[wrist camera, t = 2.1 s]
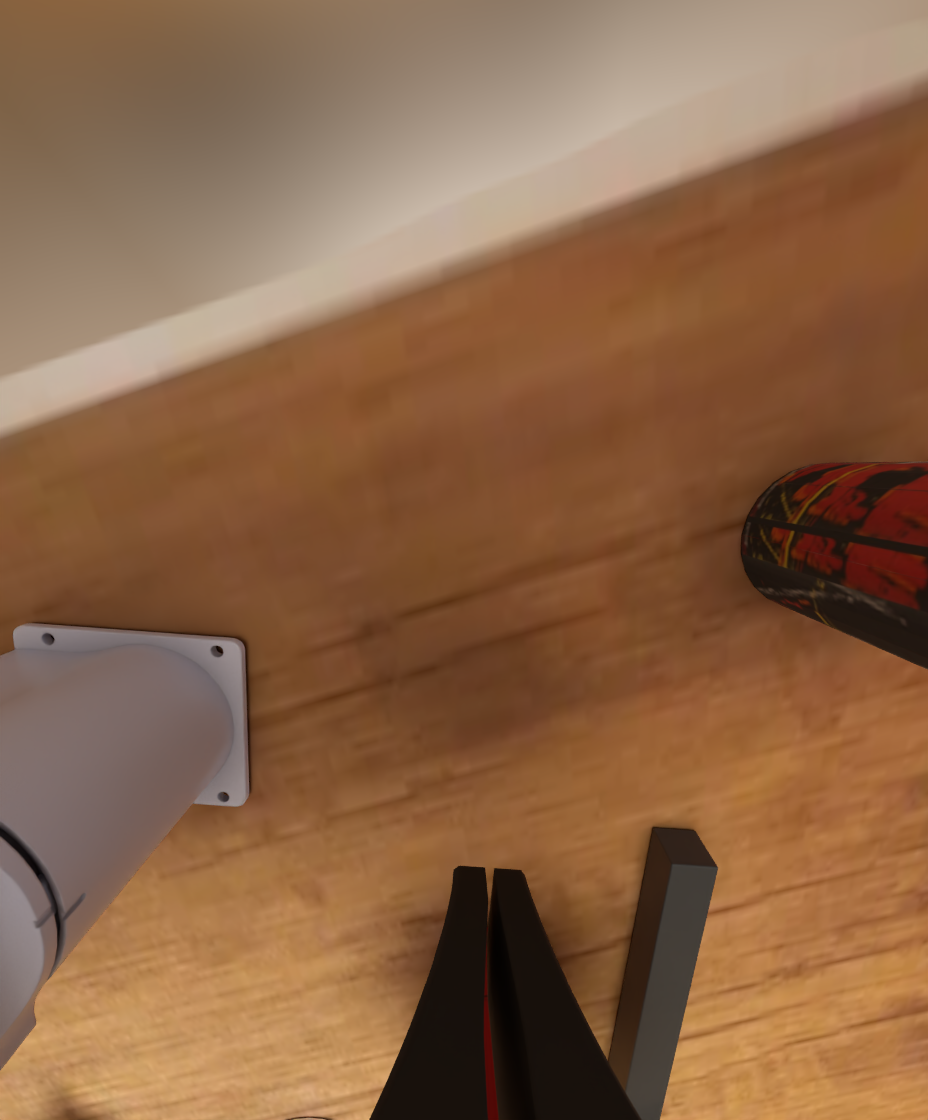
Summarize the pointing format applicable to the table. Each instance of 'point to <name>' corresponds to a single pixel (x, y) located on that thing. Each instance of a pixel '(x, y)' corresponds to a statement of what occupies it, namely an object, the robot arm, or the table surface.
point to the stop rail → (661, 965)
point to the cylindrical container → (308, 1119)
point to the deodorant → (848, 550)
